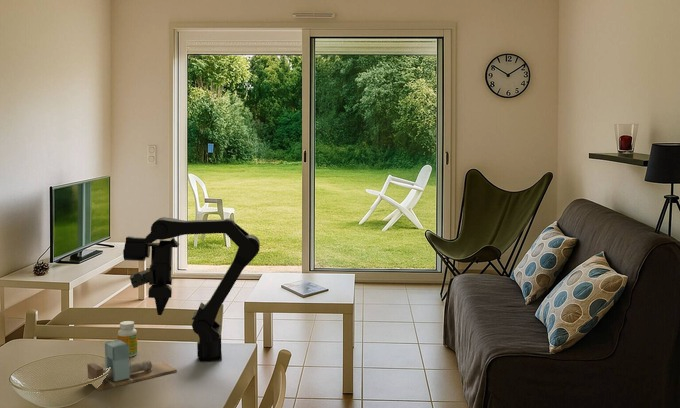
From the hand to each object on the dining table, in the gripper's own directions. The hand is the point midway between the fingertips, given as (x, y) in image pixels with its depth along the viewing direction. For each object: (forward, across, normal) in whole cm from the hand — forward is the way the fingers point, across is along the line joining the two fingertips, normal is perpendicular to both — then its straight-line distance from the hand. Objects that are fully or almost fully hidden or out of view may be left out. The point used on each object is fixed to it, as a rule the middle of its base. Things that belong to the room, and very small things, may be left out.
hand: (159, 314), depth 197 cm
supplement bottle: (+14, -6, -9) cm, 17 cm away
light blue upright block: (+14, +15, -10) cm, 23 cm away
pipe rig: (+13, +13, -6) cm, 20 cm away
